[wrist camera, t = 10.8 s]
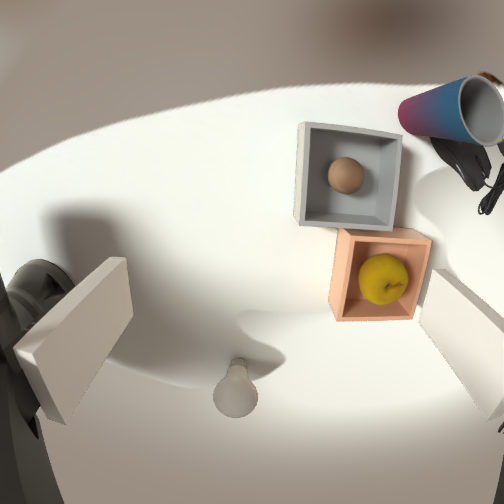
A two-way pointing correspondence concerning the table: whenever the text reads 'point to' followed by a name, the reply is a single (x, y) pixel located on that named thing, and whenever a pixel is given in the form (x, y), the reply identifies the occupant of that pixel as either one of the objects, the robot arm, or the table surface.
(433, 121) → the cup
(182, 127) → the table surface
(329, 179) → the brown ball
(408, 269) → the orange square tray
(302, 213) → the grey square tray
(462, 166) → the computer mouse
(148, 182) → the table surface
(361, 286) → the apple
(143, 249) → the table surface
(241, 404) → the lightbulb
